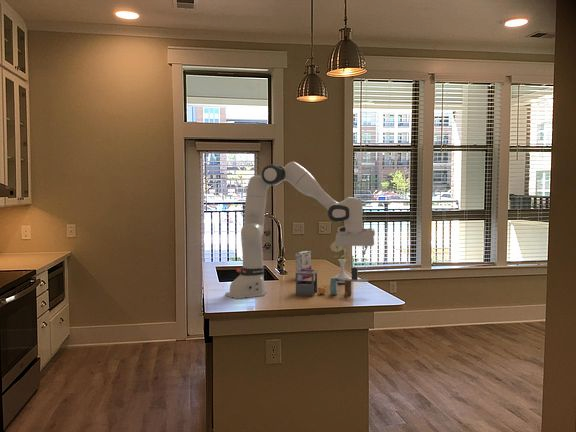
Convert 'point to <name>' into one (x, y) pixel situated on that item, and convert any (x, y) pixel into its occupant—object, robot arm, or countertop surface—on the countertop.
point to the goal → (306, 283)
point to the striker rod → (334, 280)
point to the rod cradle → (347, 287)
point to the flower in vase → (342, 262)
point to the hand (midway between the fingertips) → (354, 254)
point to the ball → (321, 290)
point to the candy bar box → (303, 262)
